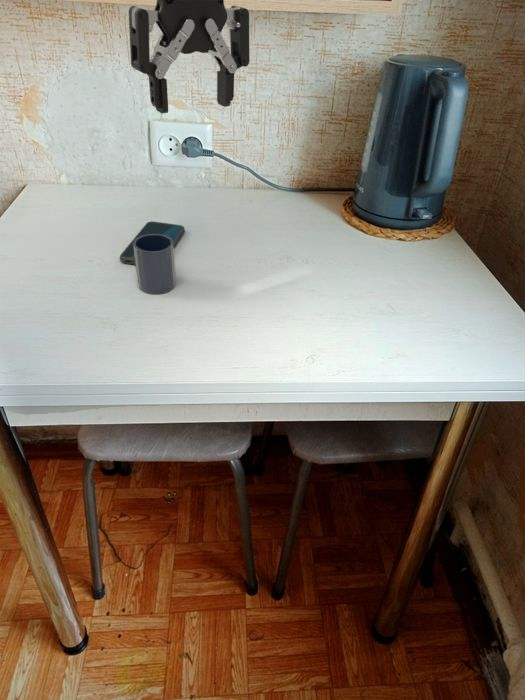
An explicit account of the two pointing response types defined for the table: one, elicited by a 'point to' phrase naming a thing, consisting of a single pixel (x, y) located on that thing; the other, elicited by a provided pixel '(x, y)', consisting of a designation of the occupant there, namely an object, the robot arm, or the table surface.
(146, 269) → the pot
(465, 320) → the table surface
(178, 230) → the smartphone
